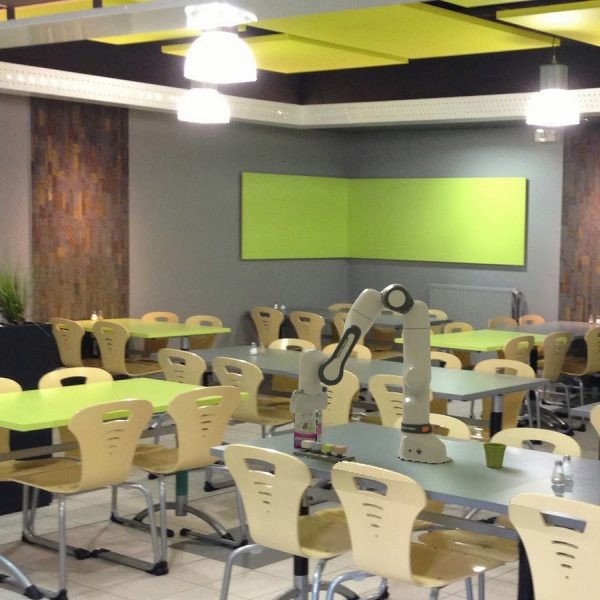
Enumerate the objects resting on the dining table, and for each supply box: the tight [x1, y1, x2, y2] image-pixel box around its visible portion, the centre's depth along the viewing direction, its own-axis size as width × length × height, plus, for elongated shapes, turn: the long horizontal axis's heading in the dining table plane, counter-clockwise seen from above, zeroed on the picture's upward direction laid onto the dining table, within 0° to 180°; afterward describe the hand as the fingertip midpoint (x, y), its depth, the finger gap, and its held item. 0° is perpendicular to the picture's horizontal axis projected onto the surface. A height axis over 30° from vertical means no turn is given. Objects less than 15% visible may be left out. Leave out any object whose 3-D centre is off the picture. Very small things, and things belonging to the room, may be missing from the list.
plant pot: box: [482, 442, 508, 469], centre depth 439 cm, size 9×9×9 cm
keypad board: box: [292, 448, 356, 464], centre depth 452 cm, size 23×11×2 cm, turn 49°
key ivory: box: [301, 440, 315, 450], centre depth 457 cm, size 4×4×4 cm
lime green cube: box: [322, 443, 337, 454], centre depth 450 cm, size 4×4×4 cm
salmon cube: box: [333, 444, 348, 456], centre depth 447 cm, size 4×4×4 cm
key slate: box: [312, 441, 327, 452], centre depth 454 cm, size 4×4×4 cm
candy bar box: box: [293, 410, 323, 449], centre depth 471 cm, size 11×5×16 cm, turn 62°
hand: (308, 422), depth 457 cm, fingers closed
